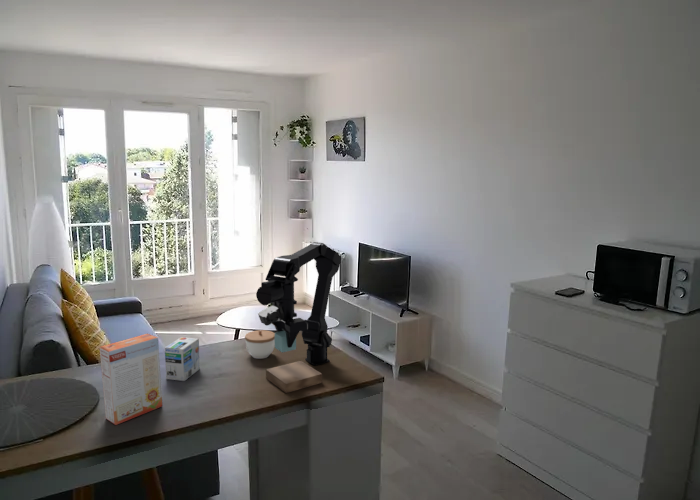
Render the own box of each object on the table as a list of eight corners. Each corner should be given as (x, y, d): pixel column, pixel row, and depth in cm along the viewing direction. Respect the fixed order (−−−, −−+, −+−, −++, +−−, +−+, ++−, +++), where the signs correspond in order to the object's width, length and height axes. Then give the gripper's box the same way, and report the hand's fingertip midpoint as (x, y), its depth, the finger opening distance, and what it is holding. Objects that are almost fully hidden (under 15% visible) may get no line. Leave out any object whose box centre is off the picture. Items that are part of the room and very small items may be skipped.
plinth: (300, 369, 174) (300, 360, 174) (321, 382, 164) (321, 373, 163) (266, 378, 166) (265, 369, 166) (286, 393, 156) (286, 383, 156)
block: (288, 344, 167) (288, 329, 166) (296, 349, 163) (296, 334, 162) (274, 347, 164) (274, 332, 163) (282, 352, 160) (281, 337, 159)
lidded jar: (251, 349, 191) (250, 325, 190) (279, 351, 190) (278, 326, 188) (241, 360, 181) (240, 334, 179) (270, 362, 180) (270, 336, 178)
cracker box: (152, 400, 150) (148, 332, 146) (163, 407, 146) (159, 337, 143) (104, 418, 139) (98, 345, 136) (114, 426, 136) (109, 351, 132)
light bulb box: (184, 381, 163) (183, 349, 161) (165, 379, 164) (163, 347, 162) (200, 368, 173) (199, 337, 171) (182, 366, 175) (181, 336, 173)
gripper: (248, 294, 164) (249, 340, 167) (275, 309, 149) (276, 360, 152) (279, 289, 170) (280, 334, 173) (308, 303, 155) (308, 352, 158)
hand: (285, 344), depth 164 cm, fingers closed on block, 5 cm apart
